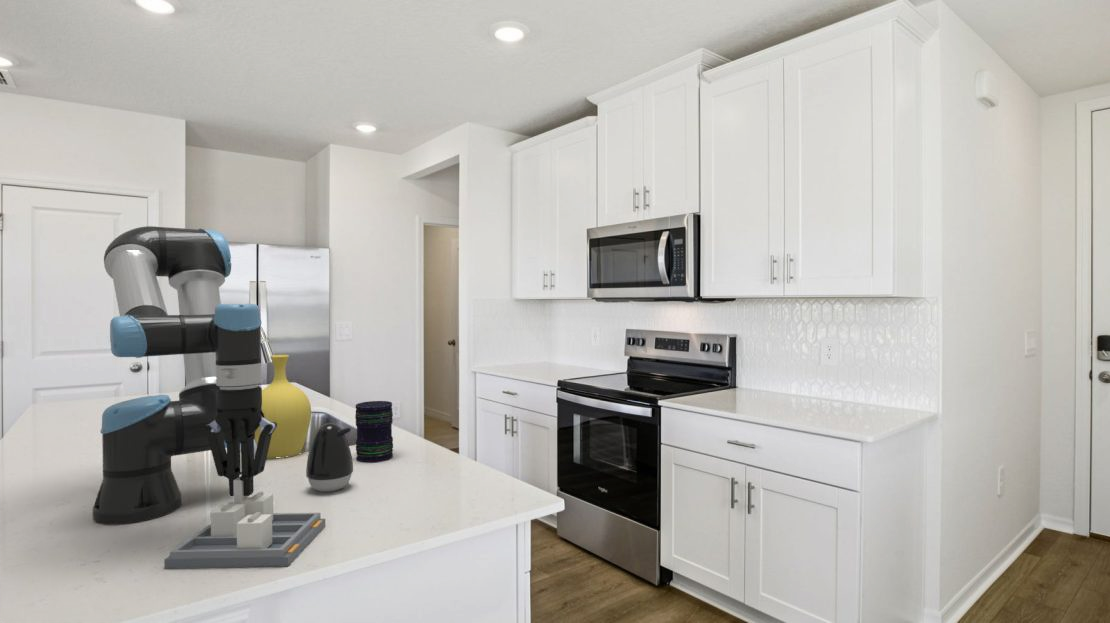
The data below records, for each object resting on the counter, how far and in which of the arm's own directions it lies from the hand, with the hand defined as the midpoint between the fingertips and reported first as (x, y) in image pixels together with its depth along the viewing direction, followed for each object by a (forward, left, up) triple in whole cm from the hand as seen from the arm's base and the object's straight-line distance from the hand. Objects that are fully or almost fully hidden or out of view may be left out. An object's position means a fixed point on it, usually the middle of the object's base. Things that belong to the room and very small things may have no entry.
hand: (241, 512), depth 111 cm
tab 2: (+3, 0, -2) cm, 4 cm away
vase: (-18, +58, -4) cm, 61 cm away
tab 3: (+7, -10, -2) cm, 13 cm away
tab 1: (0, -5, -2) cm, 6 cm away
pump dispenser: (+7, +26, -4) cm, 28 cm away
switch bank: (+4, -5, -4) cm, 8 cm away
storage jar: (+10, +52, -4) cm, 54 cm away
